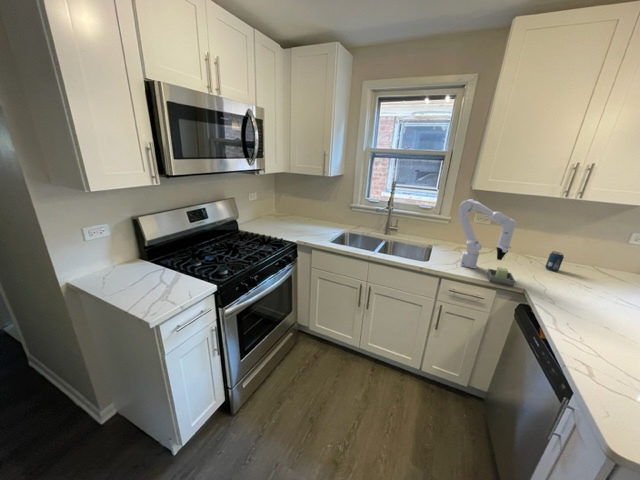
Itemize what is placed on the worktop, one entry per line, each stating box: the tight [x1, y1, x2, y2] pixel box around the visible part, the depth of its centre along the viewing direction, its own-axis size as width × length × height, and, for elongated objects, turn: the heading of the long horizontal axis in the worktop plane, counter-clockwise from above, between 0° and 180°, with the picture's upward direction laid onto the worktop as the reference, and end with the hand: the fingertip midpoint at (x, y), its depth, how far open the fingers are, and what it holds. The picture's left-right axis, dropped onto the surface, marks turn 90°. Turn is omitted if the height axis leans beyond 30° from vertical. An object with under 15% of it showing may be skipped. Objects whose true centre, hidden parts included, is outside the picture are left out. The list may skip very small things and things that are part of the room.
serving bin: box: [486, 268, 516, 288], centre depth 157 cm, size 12×12×4 cm
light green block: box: [495, 266, 509, 279], centre depth 156 cm, size 5×5×6 cm
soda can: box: [544, 251, 564, 273], centre depth 174 cm, size 7×7×12 cm
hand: (499, 259), depth 163 cm, fingers closed
